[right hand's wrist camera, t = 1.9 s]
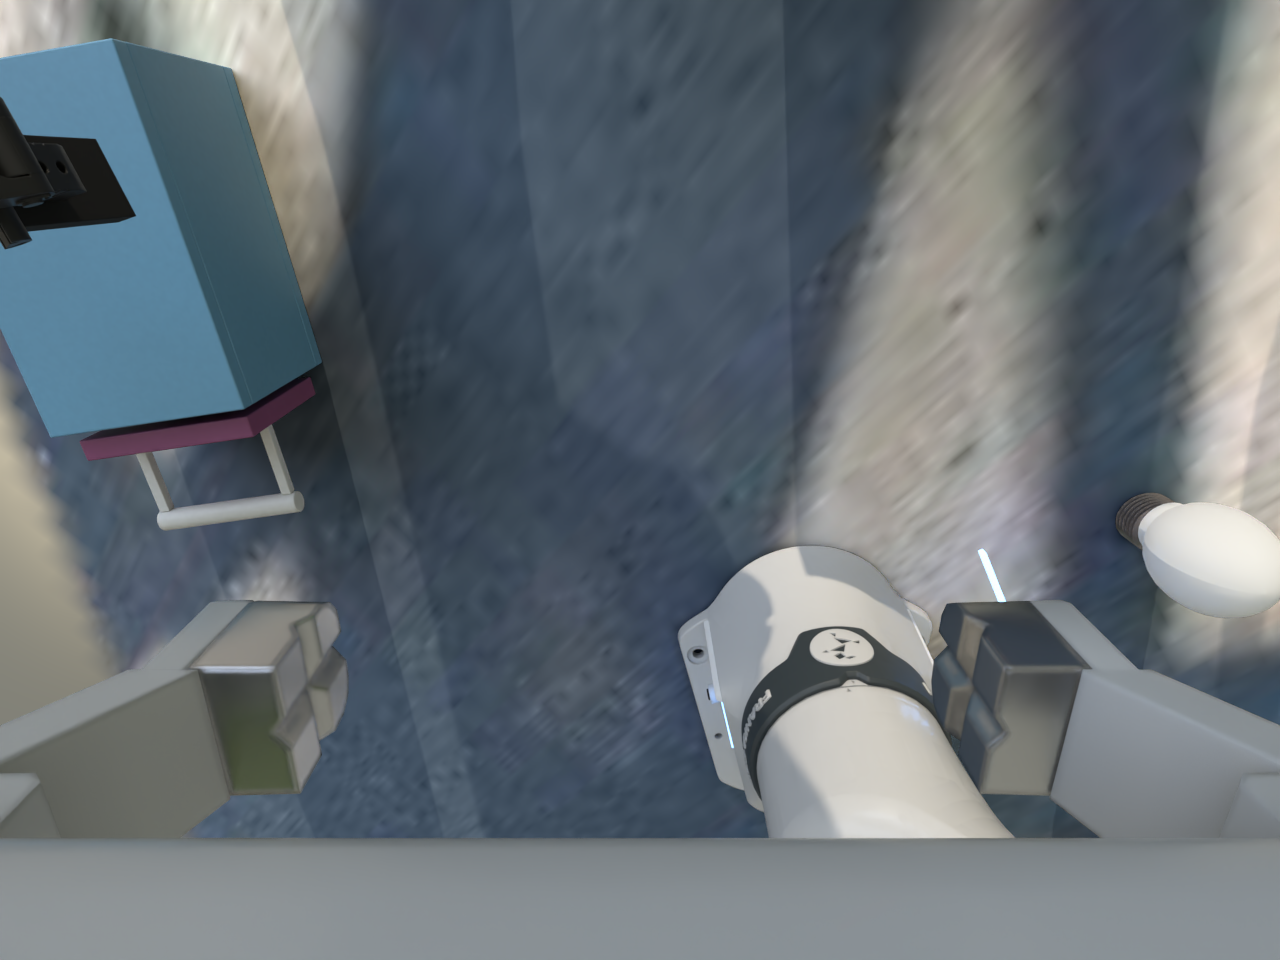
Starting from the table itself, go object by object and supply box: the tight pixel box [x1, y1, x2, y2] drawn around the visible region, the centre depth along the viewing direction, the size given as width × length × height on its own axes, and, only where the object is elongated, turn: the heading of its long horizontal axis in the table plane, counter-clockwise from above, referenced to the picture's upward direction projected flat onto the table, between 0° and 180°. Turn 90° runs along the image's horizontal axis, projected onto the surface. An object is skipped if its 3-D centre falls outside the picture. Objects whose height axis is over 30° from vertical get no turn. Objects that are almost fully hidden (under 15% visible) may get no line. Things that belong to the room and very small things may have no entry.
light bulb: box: [1116, 493, 1280, 618], centre depth 49 cm, size 7×7×11 cm
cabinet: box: [0, 38, 322, 438], centre depth 42 cm, size 17×11×11 cm, turn 8°
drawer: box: [80, 377, 315, 530], centre depth 44 cm, size 22×10×9 cm, turn 8°
